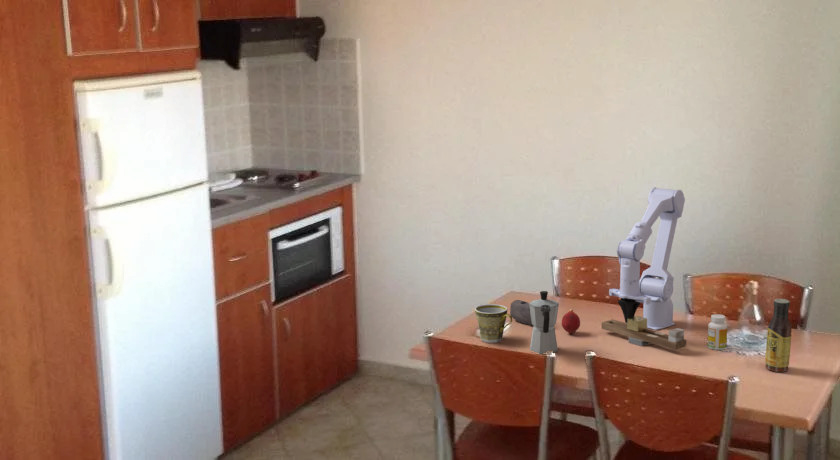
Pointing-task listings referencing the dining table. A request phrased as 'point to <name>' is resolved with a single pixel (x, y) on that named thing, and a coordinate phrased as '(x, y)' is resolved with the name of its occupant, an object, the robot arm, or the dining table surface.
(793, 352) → the dining table surface
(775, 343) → the sauce bottle
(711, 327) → the supplement bottle
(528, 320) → the perforated stone tool
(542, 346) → the coffee maker
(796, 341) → the dining table surface
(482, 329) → the ceramic cup
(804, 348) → the dining table surface
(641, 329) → the block
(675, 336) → the beam
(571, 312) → the onion
